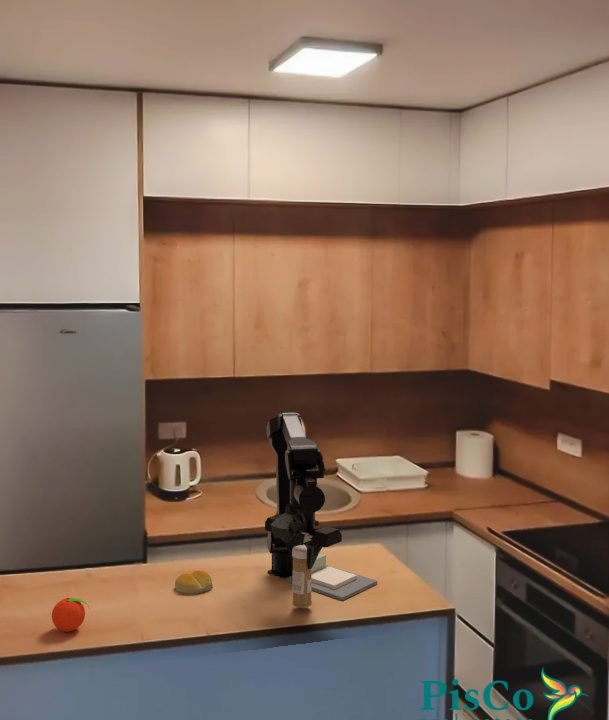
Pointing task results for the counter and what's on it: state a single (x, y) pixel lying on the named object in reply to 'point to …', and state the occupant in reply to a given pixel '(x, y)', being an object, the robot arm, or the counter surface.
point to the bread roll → (193, 583)
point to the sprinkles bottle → (301, 578)
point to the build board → (336, 580)
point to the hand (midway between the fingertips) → (302, 566)
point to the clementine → (68, 614)
